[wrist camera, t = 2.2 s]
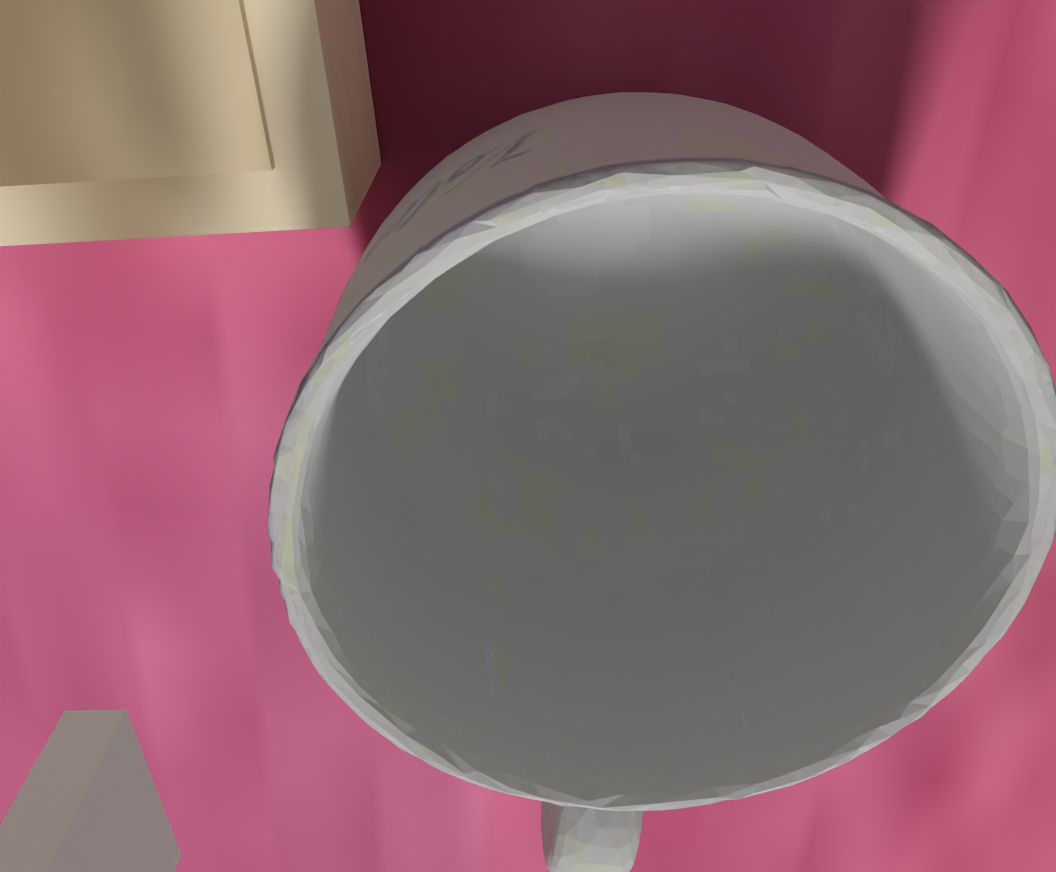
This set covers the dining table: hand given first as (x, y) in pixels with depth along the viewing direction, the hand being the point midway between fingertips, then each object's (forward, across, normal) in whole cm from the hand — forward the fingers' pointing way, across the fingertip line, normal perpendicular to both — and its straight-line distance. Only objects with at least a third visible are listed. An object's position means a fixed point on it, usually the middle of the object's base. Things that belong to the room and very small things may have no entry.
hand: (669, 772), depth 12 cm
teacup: (+10, 0, 0) cm, 11 cm away
